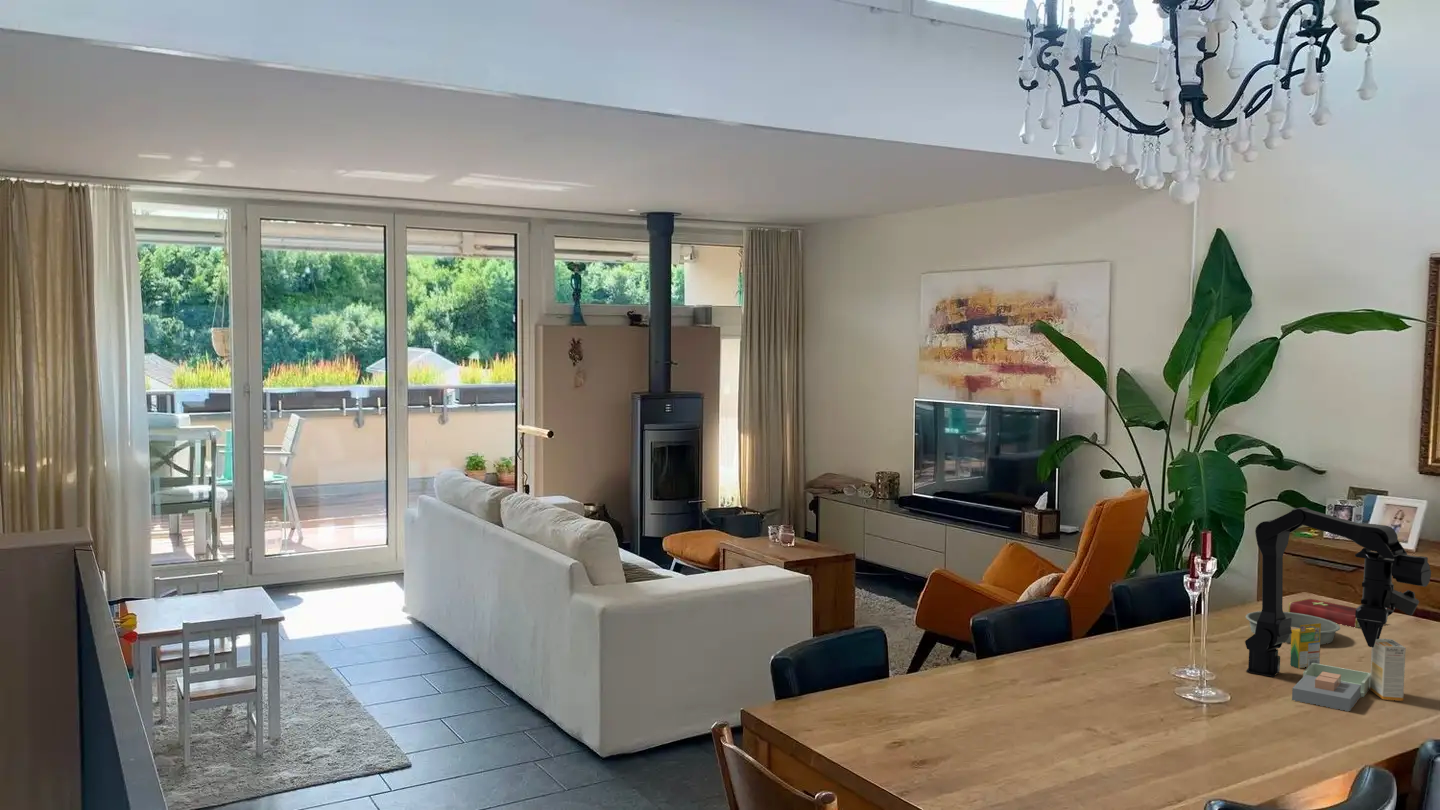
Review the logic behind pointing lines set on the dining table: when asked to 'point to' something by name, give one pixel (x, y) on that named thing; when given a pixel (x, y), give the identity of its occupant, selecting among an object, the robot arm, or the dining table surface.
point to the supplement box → (1388, 669)
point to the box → (1342, 675)
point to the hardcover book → (1326, 611)
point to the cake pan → (1301, 619)
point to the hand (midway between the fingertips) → (1373, 642)
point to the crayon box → (1305, 646)
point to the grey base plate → (1326, 694)
